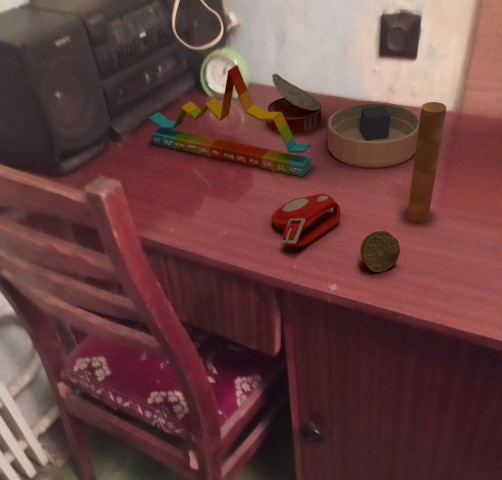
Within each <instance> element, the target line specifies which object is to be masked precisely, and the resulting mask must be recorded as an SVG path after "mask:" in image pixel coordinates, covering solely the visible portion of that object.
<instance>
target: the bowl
mask: <svg viewBox="0 0 502 480" xmlns="http://www.w3.org/2000/svg"><path fill="white" fill-rule="evenodd" d="M380 106H384V107H385V108H386V110H387V111H388V113H389V114H390V126H389V137H388V138H384V139H376V140H368V141H366V140H365V139H364V137H363V135H362V133H361V132H360V121H361V109H363V108H372V107H380ZM419 122H420V115H419V114H417V112H416V111H414V110H413V109H410V108H408V107H405V106H404V105H398V104H395V103H389V102H362V103H355V104H351V105H347V106H345V107H341V108H339V109H338V110H336V111H335V112H333V113H332V114H331V115H330V116H329V118H328V120H327V136H326V137H327V138H326V145H327V150H328V151H329V152H330V154H331V155H332V156H333V157H334V158H335V159H337V161H339V162H342V163H343V164H346V165H349V166H353V167H358V168H366V169H367V168H368V169H379V168H387V167H388V168H389V167H392V166H393V167H394V166H396V165H400V164H403V163H404V162H406V161H408V160H410V159H411V158H412V157H413V156H415V152H416V145H417V137H418V130H419Z"/></svg>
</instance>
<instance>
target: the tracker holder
mask: <svg viewBox="0 0 502 480" xmlns="http://www.w3.org/2000/svg"><path fill="white" fill-rule="evenodd" d="M331 209H332V213H331V215H330V217H328V218H327V219H325V220H324V221H323V222H322V223H320V224H319V225H317V226H316V227H315V228H312V229H311V230H310V231H309V232H307V233H306V234H304V235H303V236H302V230H305V229H307V228H308V227H310V226H311V225H312V224H313V223H314V222H316V221H317V220H318V219H319V218H321V217H322V216H323V215H324V214H325V213H326V212H328V211H330V210H331ZM340 219H341V207H340V204H339V203H338V202H337V201H336V200H335V199H334V198H333V197H332V196H331V195H329V194H326V193H317V194H313V195H307V196H303V197H299V198H296V199H295V198H294V199H291V200H290V201H288V202H286V203H284V204H283V205H282V206H280V207H279V208H278V209H276V210H275V211H274V213H273V214H272V216H271V222H272V224H273V226H274V227H275V228H276V229H279V230H283V233H282V237H281V239H280V244H281V245H285V246H287V247H292V248H300V247H301V248H302V247H304V246H306V245H308V244H310V243H312V242H314V241H315V240H316V239H318V238H319V237H320V236H322V235H323V234H325V233H326V232H328V231H329V230H331V229H332V228H334V227H335V226H336V225H337V224H338V223H339V221H340ZM301 236H302V237H301Z"/></svg>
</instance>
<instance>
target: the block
mask: <svg viewBox="0 0 502 480" xmlns="http://www.w3.org/2000/svg"><path fill="white" fill-rule="evenodd" d="M389 126H390V114H389V113H388V111H387V110H386V108H385V107H384V106H380V107H372V108H363V109H361V121H360V132H361V133H362V135H363V137H364V139H365V140H366V141H368V140H376V139H384V138H388V137H389Z"/></svg>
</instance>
